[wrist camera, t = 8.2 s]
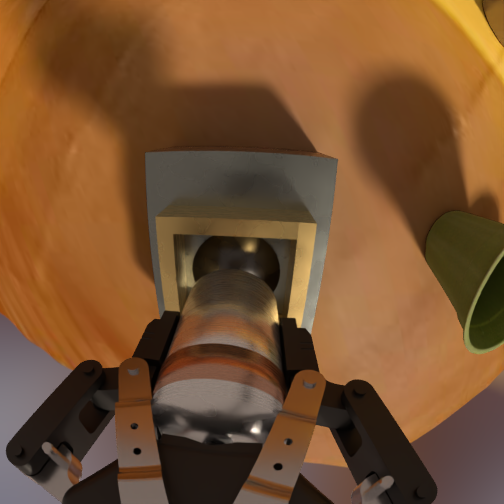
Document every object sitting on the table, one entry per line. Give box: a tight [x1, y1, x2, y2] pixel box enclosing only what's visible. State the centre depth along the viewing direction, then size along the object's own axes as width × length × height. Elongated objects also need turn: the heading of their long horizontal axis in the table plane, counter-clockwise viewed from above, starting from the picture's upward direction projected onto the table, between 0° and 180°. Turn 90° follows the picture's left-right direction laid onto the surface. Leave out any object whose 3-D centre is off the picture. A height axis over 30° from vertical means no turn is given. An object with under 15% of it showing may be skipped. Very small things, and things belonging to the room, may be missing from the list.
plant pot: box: [425, 211, 504, 354], centre depth 19 cm, size 12×12×11 cm
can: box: [152, 269, 287, 448], centre depth 11 cm, size 5×5×9 cm
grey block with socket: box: [145, 147, 338, 334], centre depth 21 cm, size 16×12×8 cm
